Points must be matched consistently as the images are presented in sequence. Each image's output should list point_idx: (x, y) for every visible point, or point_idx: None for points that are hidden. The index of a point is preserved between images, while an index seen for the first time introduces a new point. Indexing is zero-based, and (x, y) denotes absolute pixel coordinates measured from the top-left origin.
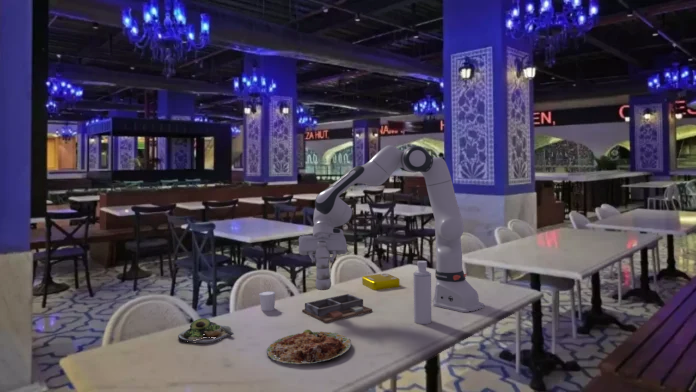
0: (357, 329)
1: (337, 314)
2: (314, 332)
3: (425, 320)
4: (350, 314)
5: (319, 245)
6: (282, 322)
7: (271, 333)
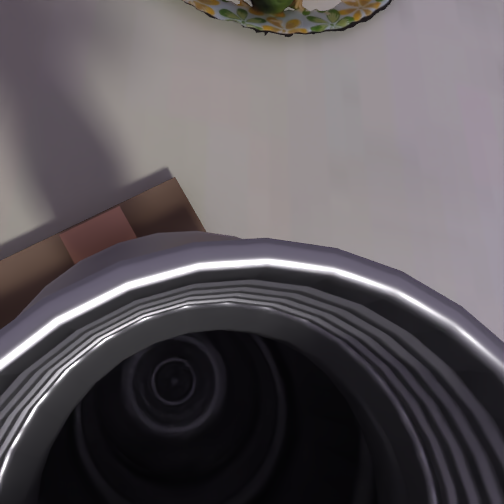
0: (11, 53)
1: (94, 219)
2: (241, 20)
3: None
4: (2, 260)
5: (394, 341)
6: (399, 239)
7: (429, 100)
